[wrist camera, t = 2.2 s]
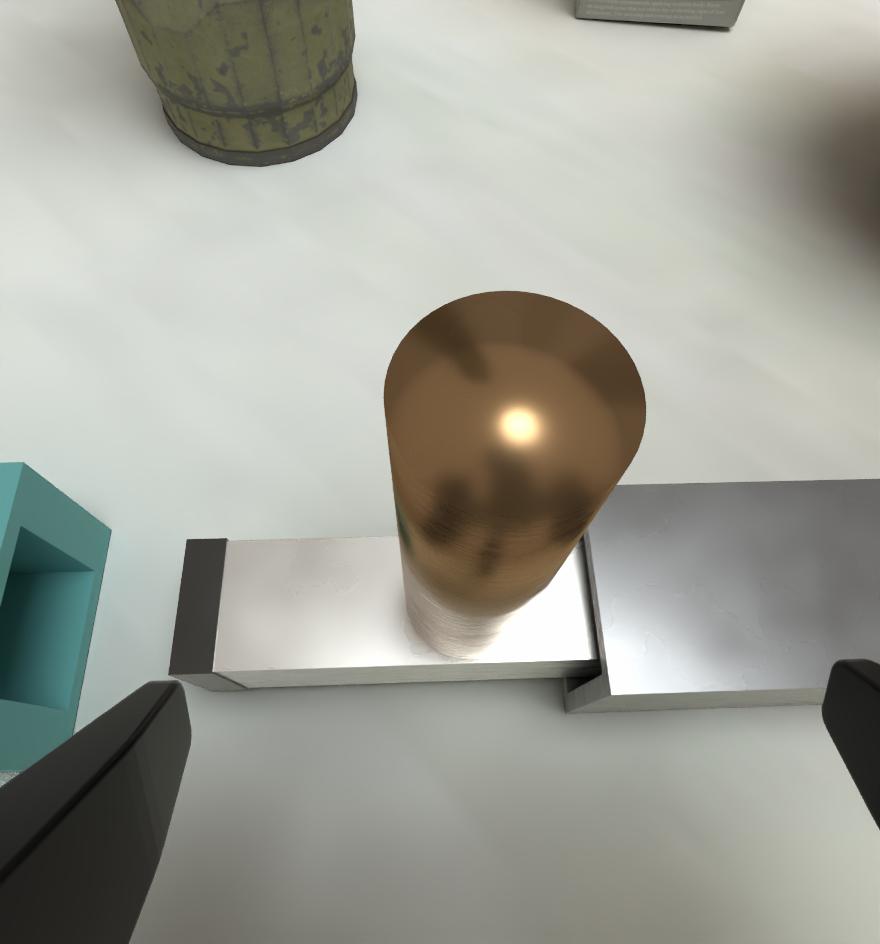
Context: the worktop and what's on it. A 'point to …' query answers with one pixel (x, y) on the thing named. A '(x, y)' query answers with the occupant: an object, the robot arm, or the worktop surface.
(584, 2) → the skincare box
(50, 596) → the socket
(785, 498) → the grey rectangular metal block
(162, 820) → the robot arm
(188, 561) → the bronze post on bar
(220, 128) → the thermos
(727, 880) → the worktop surface
